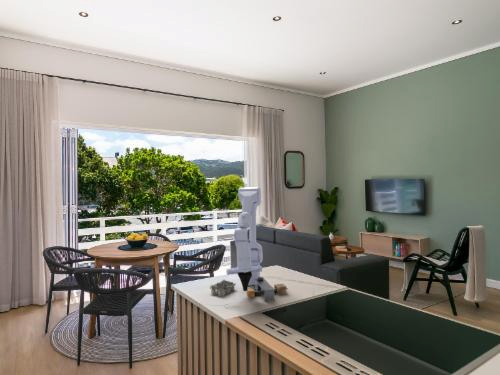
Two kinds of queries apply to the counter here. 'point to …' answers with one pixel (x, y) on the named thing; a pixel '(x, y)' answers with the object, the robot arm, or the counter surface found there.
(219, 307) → the counter surface
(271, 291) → the motor housing
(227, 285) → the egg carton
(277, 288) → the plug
